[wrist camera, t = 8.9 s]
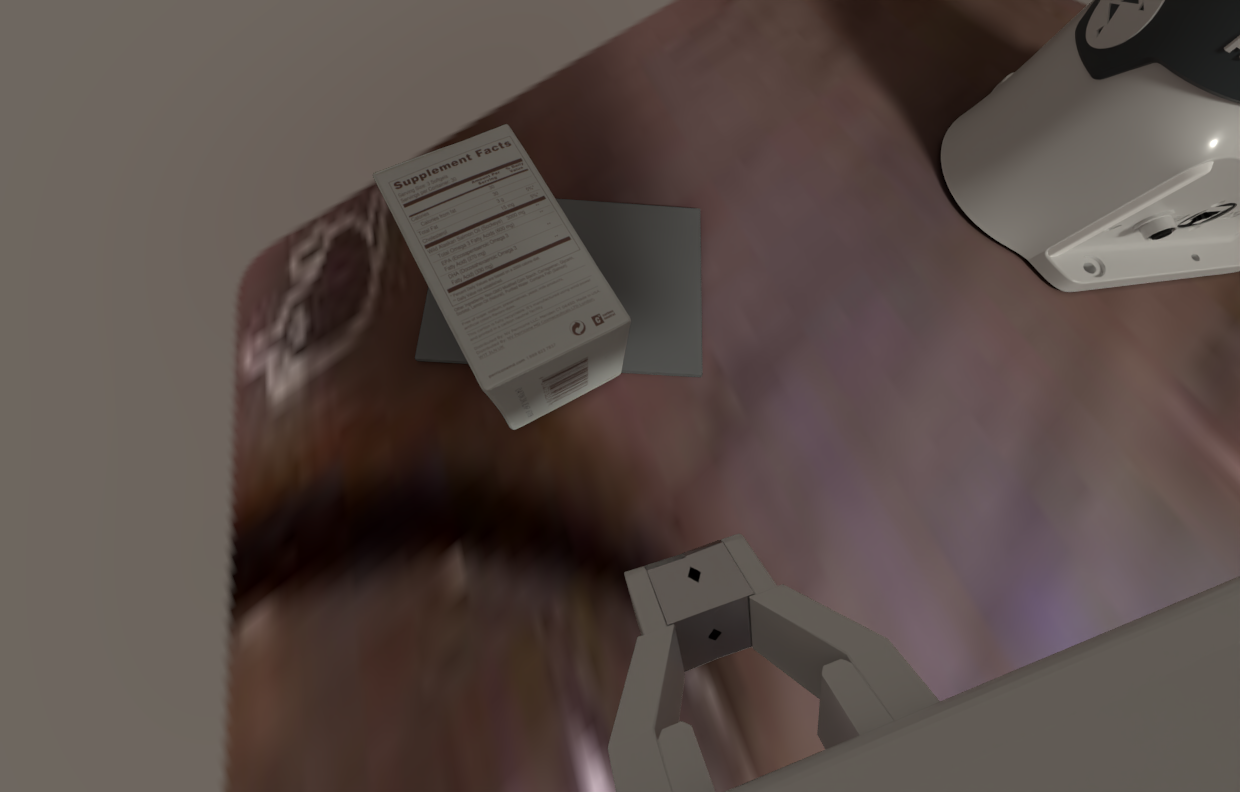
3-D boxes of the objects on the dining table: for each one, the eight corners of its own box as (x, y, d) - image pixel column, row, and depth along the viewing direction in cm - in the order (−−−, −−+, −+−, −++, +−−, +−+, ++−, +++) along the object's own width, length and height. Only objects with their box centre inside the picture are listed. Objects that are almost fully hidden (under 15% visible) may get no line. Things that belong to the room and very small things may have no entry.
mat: (698, 212, 31) (700, 208, 30) (700, 377, 27) (702, 374, 27) (448, 195, 30) (446, 190, 30) (417, 360, 27) (414, 358, 26)
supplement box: (510, 434, 25) (423, 262, 28) (625, 375, 27) (530, 217, 30) (477, 394, 18) (365, 171, 21) (635, 316, 20) (509, 117, 23)
